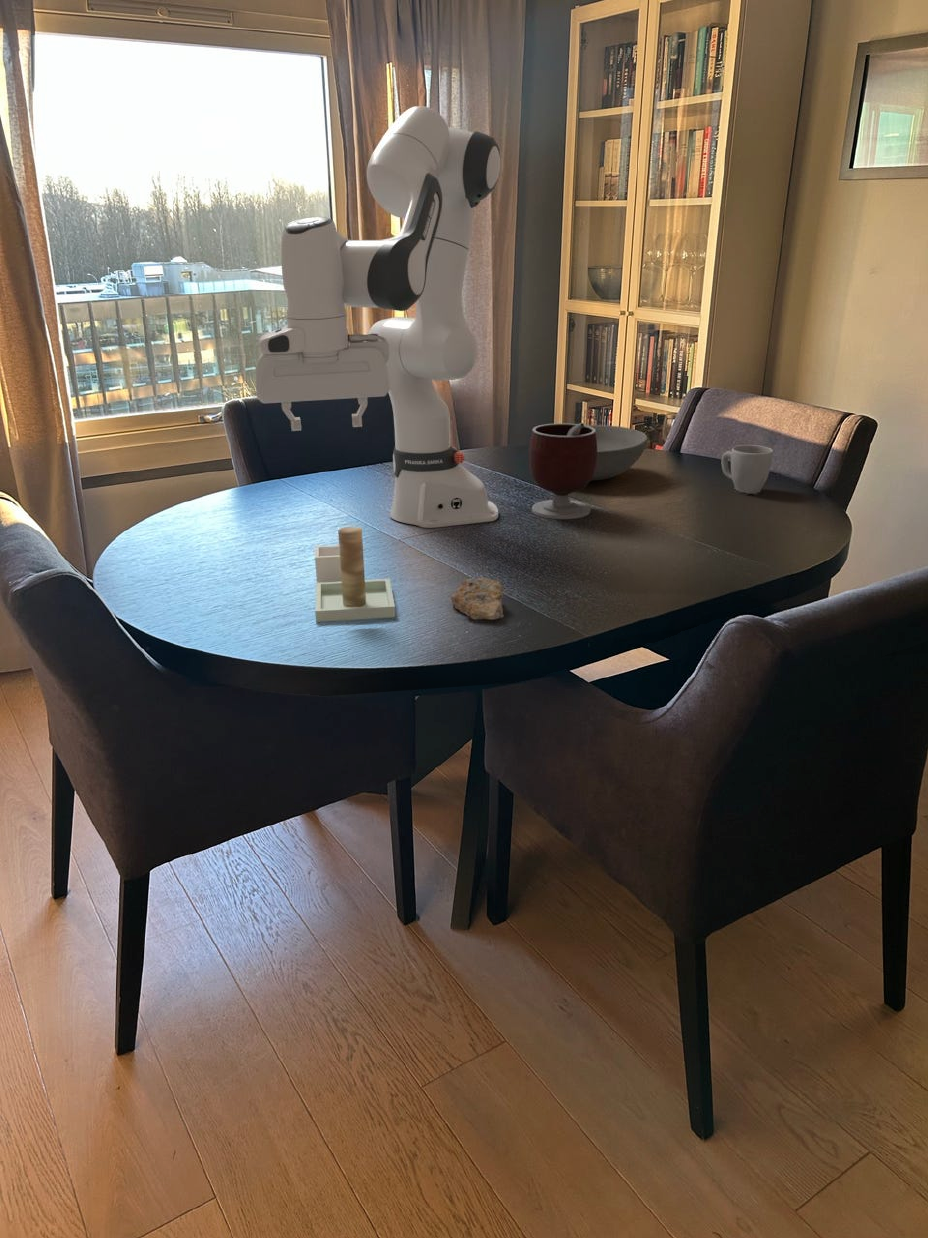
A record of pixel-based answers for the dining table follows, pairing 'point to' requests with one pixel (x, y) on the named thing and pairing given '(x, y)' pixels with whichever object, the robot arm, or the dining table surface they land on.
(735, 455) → the mug
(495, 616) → the rock
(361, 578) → the dowel
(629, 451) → the bowl
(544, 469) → the mate gourd
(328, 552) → the pen cup
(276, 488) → the dining table surface
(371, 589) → the tray
